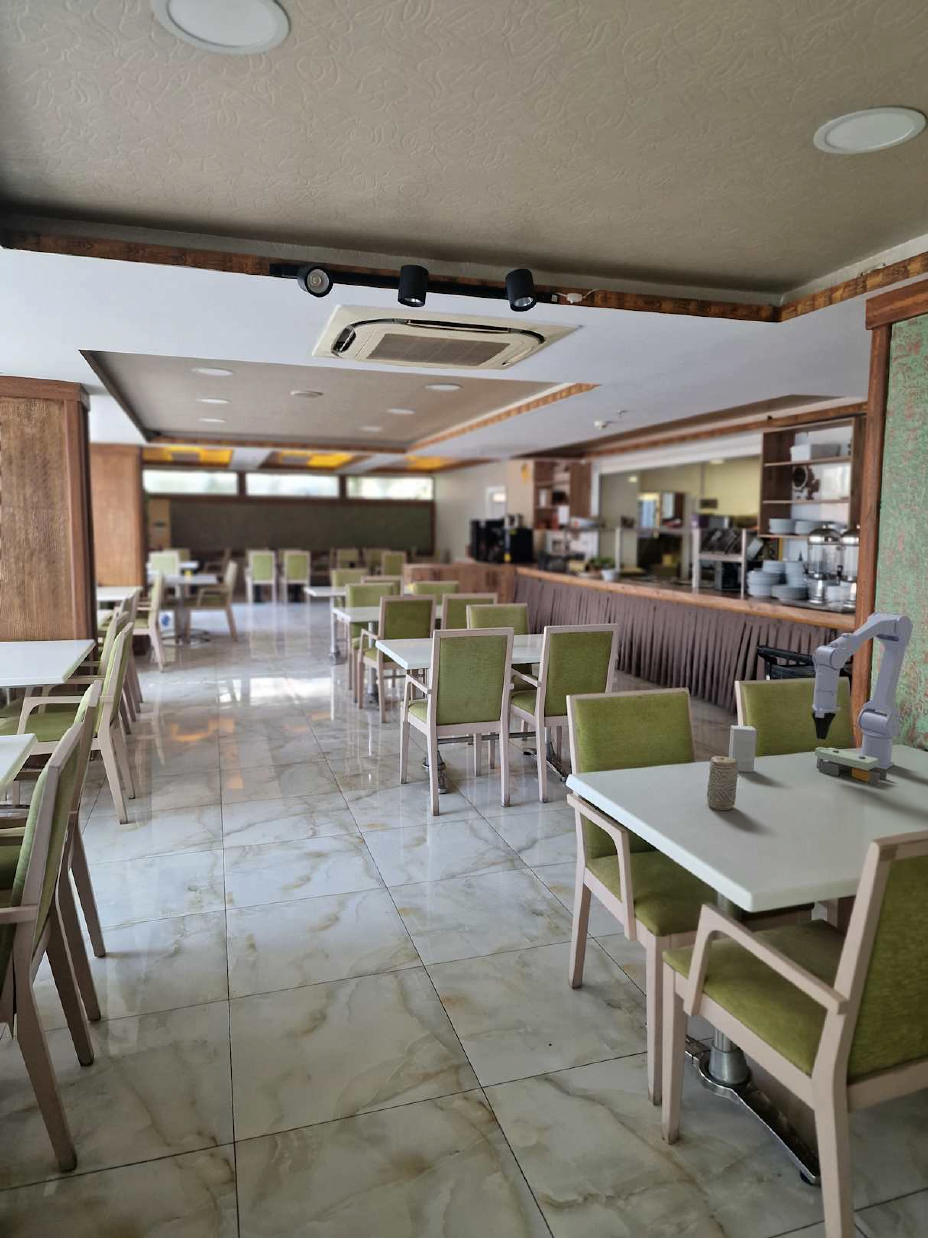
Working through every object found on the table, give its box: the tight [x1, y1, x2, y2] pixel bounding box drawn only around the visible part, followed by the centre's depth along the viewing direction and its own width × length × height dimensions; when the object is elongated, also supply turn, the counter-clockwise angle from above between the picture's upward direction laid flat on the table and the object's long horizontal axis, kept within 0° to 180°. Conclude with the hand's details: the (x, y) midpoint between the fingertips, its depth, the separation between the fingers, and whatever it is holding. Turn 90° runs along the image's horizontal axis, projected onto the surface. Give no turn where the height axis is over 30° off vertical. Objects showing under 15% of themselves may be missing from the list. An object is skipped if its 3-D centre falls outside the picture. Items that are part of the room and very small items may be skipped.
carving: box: [706, 755, 739, 811], centre depth 182 cm, size 6×8×12 cm
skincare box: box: [728, 725, 757, 773], centre depth 213 cm, size 6×4×12 cm
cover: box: [814, 746, 879, 770], centre depth 213 cm, size 7×15×6 cm, turn 41°
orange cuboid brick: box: [851, 768, 871, 782], centre depth 209 cm, size 2×5×2 cm, turn 30°
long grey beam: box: [818, 760, 888, 786], centre depth 212 cm, size 8×15×3 cm, turn 46°
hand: (821, 738), depth 211 cm, fingers closed
